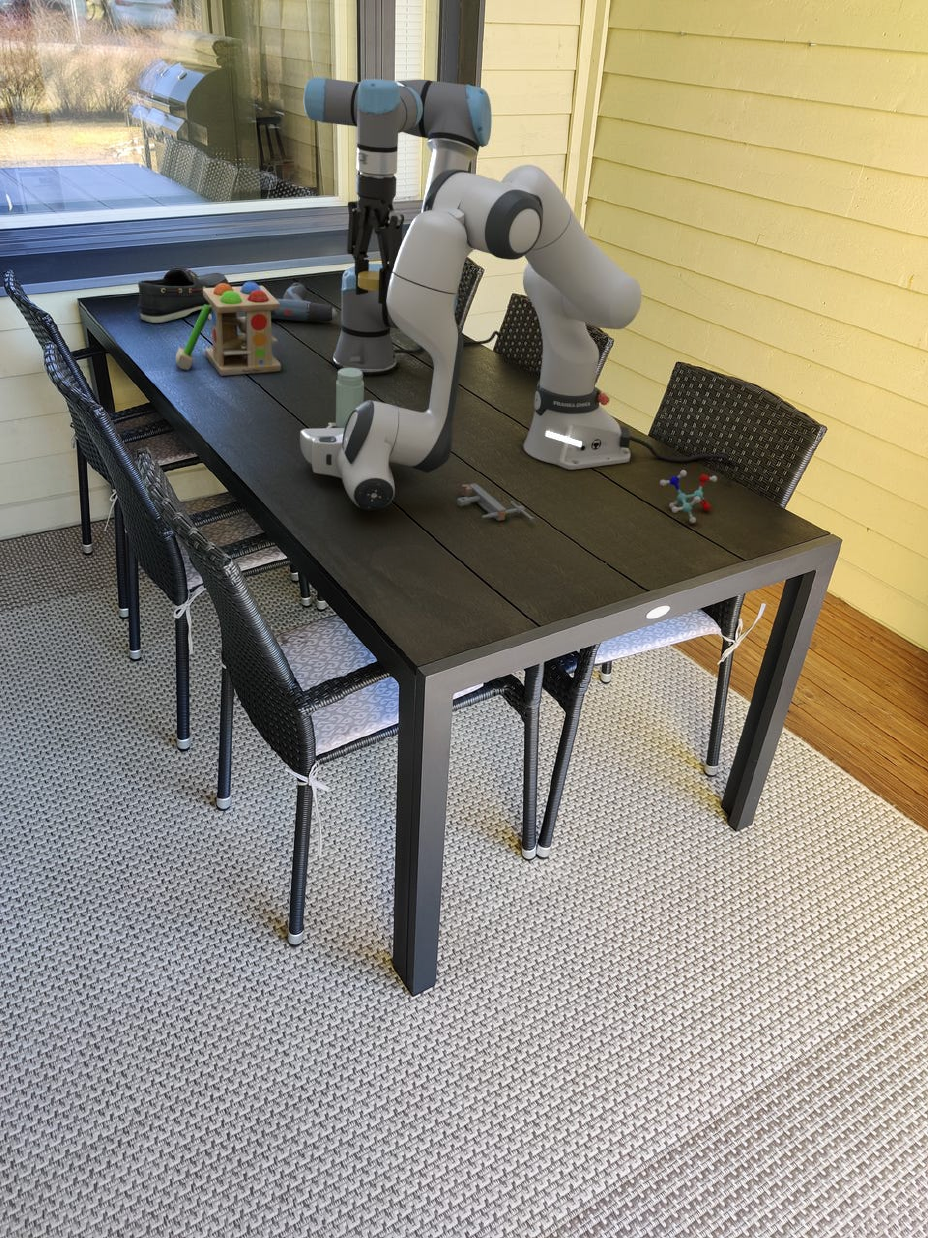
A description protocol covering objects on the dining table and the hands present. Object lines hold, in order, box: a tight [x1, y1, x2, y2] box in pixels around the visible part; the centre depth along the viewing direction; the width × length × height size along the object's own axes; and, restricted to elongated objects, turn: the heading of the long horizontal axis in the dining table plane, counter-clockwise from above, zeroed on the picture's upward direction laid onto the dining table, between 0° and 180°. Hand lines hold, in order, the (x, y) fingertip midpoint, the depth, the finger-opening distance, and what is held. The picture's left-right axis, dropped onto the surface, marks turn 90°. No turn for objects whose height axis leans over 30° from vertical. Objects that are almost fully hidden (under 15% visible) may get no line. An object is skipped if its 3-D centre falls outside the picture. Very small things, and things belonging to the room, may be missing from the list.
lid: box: [358, 271, 379, 291], centre depth 195 cm, size 6×6×2 cm
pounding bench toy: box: [174, 281, 282, 377], centre depth 225 cm, size 23×14×18 cm, turn 116°
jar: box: [335, 368, 365, 428], centre depth 190 cm, size 5×5×18 cm
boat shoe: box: [137, 266, 230, 324], centre depth 260 cm, size 13×33×10 cm, turn 147°
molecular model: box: [659, 469, 718, 524], centre depth 185 cm, size 12×10×10 cm
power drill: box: [271, 282, 338, 322], centre depth 265 cm, size 5×19×20 cm
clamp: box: [456, 483, 535, 523], centre depth 180 cm, size 15×2×10 cm
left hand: (373, 297), depth 197 cm, fingers closed on lid, 6 cm apart
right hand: (348, 425), depth 192 cm, fingers closed on jar, 5 cm apart
